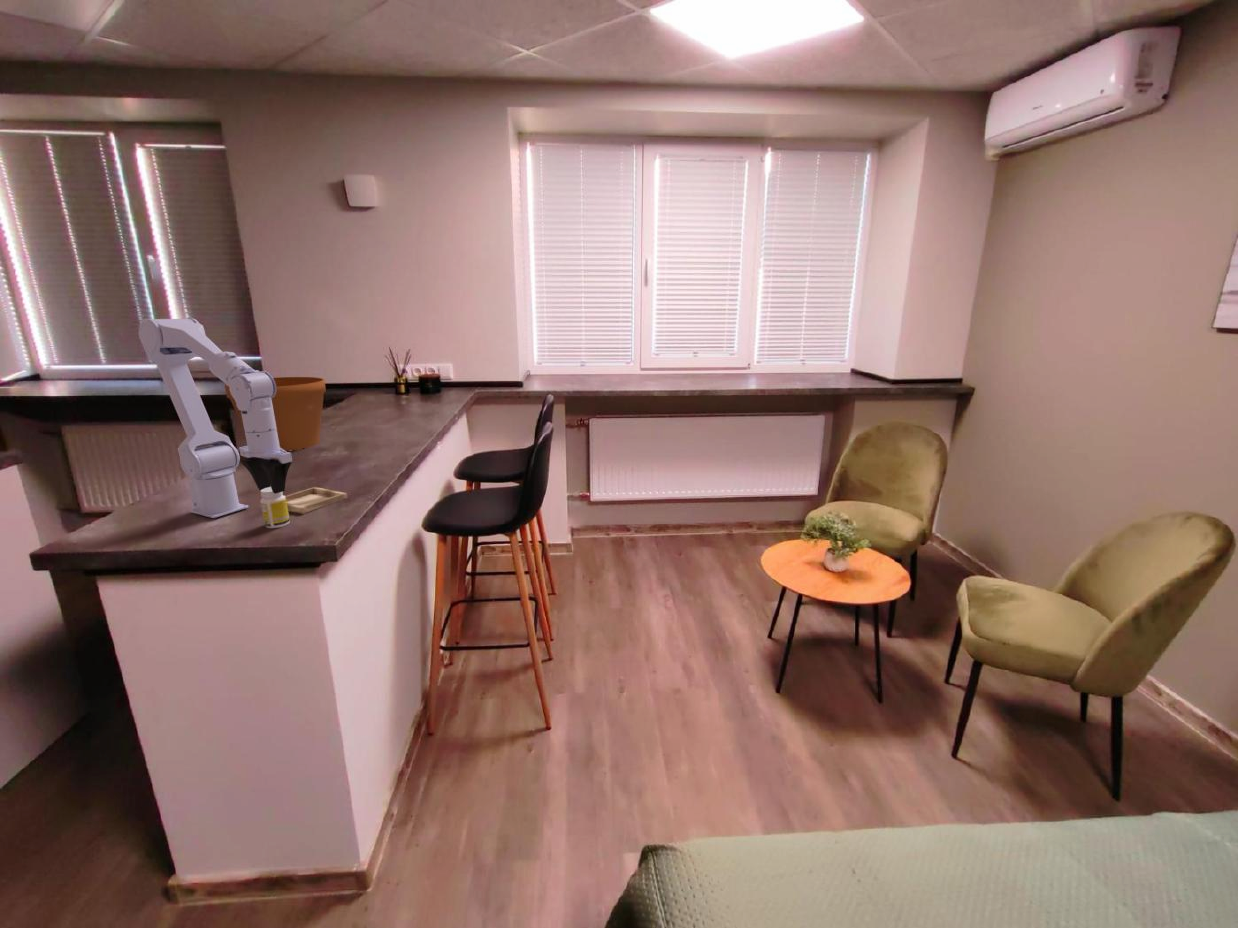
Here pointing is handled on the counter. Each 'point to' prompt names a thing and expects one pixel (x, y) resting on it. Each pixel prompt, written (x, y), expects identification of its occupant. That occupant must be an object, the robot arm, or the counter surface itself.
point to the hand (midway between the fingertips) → (271, 490)
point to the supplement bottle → (274, 508)
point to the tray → (312, 499)
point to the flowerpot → (295, 410)
